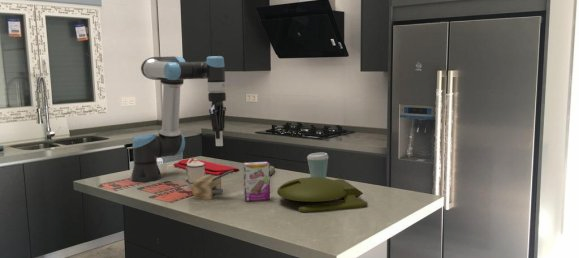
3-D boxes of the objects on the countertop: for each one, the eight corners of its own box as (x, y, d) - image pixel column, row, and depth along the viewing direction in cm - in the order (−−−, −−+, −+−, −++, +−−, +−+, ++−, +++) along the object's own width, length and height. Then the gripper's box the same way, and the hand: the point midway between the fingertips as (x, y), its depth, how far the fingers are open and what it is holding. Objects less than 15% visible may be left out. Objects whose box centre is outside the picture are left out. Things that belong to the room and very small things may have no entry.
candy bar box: (245, 202, 210) (244, 165, 208) (243, 199, 215) (242, 162, 213) (270, 200, 212) (269, 163, 210) (268, 197, 217) (267, 161, 215)
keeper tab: (212, 181, 215) (211, 179, 215) (217, 178, 221) (216, 176, 221) (228, 174, 212) (227, 171, 212) (234, 171, 218) (233, 169, 218)
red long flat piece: (218, 177, 260) (217, 170, 260) (172, 167, 287) (172, 161, 287) (239, 172, 272) (239, 165, 271) (194, 163, 299) (194, 157, 298)
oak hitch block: (194, 198, 217) (193, 181, 216) (205, 191, 229) (205, 175, 228) (210, 199, 215) (210, 182, 214) (221, 192, 227) (220, 175, 226)
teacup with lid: (209, 180, 251) (208, 158, 249) (196, 184, 244) (195, 161, 242) (193, 177, 258) (192, 156, 257) (179, 181, 251) (178, 159, 249)
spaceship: (344, 190, 229) (344, 169, 228) (369, 208, 199) (369, 185, 198) (271, 195, 221) (271, 174, 220) (285, 215, 192) (285, 191, 190)
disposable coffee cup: (315, 187, 233) (315, 156, 231) (303, 183, 242) (302, 153, 240) (333, 184, 239) (333, 154, 237) (320, 180, 248) (319, 150, 246)
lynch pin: (192, 197, 219) (191, 186, 218) (197, 194, 224) (196, 183, 223) (219, 199, 216) (219, 187, 215) (224, 195, 221) (223, 184, 220)
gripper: (218, 92, 204) (221, 148, 207) (230, 91, 217) (233, 143, 220) (202, 93, 207) (205, 148, 209) (215, 91, 219) (217, 143, 222)
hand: (219, 145), depth 215 cm, fingers closed
